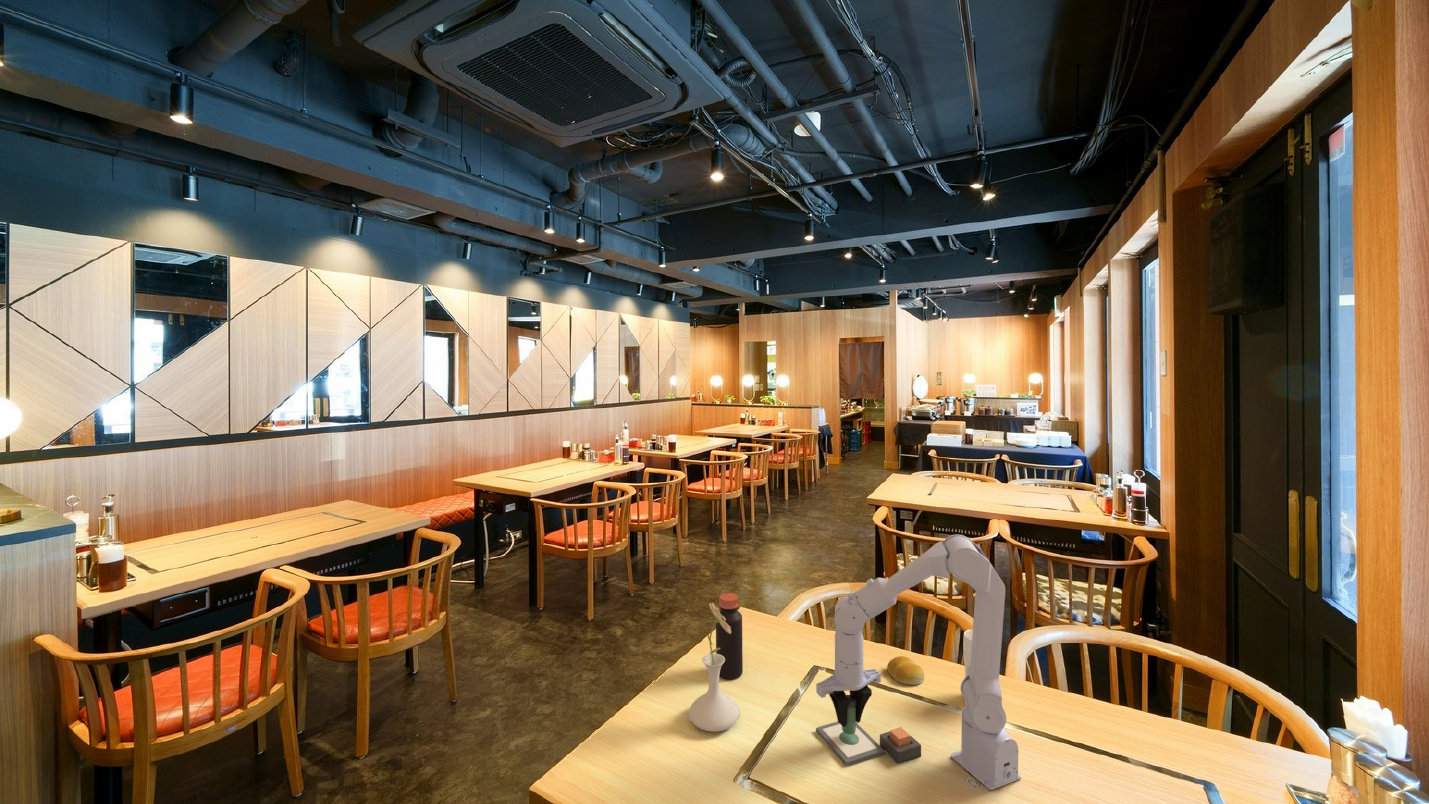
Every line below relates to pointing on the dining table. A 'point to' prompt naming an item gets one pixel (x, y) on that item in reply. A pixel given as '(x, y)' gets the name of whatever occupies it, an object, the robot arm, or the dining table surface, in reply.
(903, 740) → the button
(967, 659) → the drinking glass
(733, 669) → the bottle
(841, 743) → the board
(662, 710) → the dining table surface
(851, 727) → the marker
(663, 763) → the dining table surface
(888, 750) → the button housing
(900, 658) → the bread roll
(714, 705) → the flower in vase
